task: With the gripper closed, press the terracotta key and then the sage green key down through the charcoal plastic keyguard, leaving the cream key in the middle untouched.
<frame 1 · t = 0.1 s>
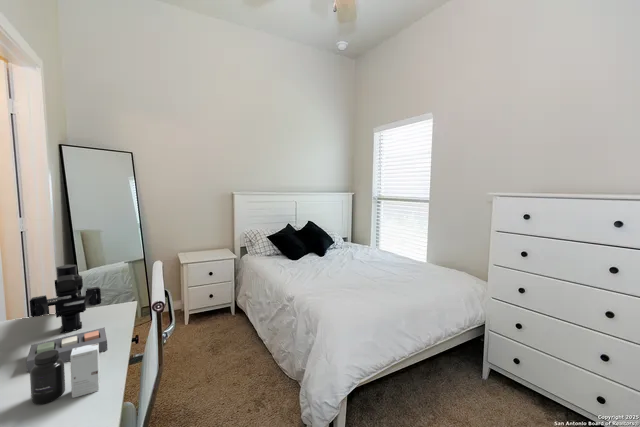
hand: (66, 308, 97), 17 cm above the table, tool horizontal, fingers open, 9 cm apart
sage key: (45, 349, 97), point 3 cm above the table, slide at 0.0 cm
cream key: (69, 343, 101), point 3 cm above the table, slide at 0.0 cm
keyguard: (70, 352, 101), on the table
terracotta key: (91, 337, 105), point 3 cm above the table, slide at 0.0 cm
supplement bottle: (49, 397, 80), on the table
skincare box: (87, 390, 83), on the table
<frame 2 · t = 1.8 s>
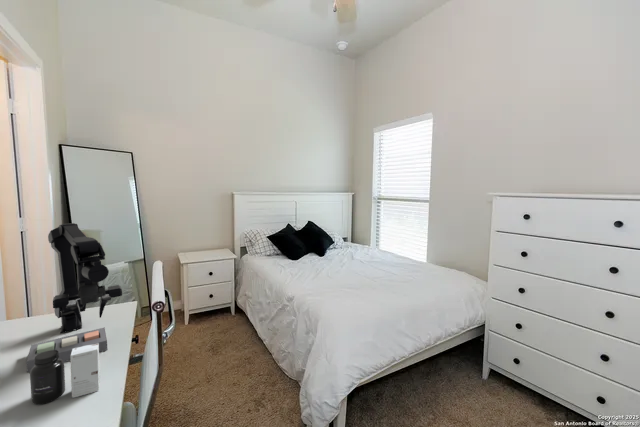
hand: (90, 319, 104), 10 cm above the table, tool pointing down, fingers open, 5 cm apart
nothing on the table moved.
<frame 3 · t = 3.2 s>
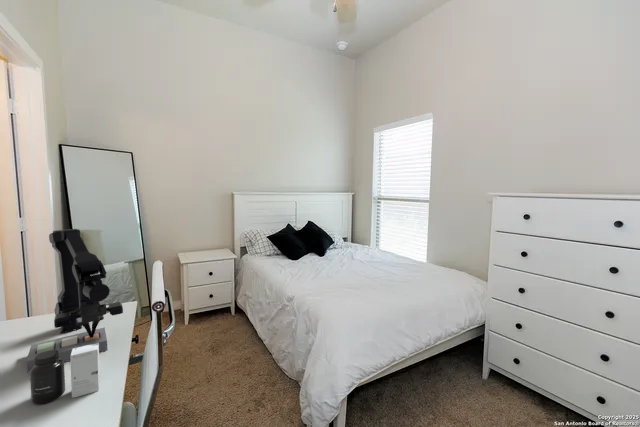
hand: (91, 337, 105), 3 cm above the table, tool pointing down, fingers closed, pressing on terracotta key
terracotta key: (92, 340, 105), point 2 cm above the table, slide at -1.0 cm, touching gripper, keyguard
everything else where it was.
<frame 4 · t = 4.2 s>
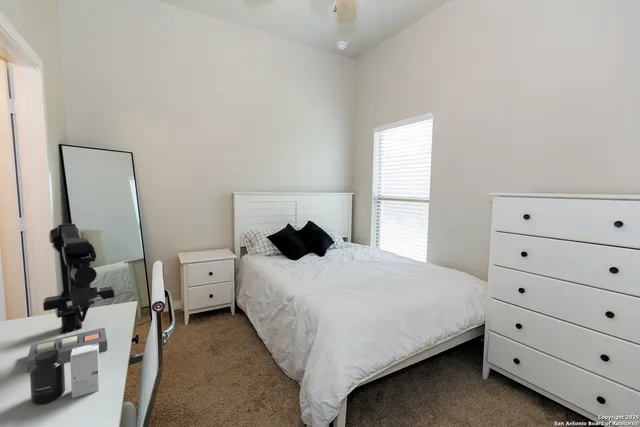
hand: (82, 321, 103), 10 cm above the table, tool pointing down, fingers closed
terracotta key: (92, 340, 105), point 2 cm above the table, slide at -1.0 cm, touching keyguard
everything else where it was.
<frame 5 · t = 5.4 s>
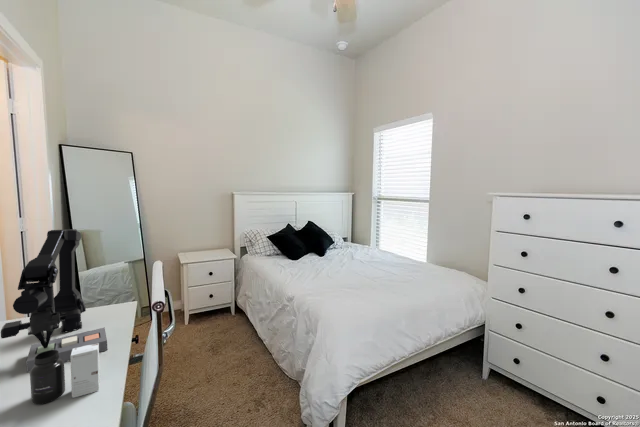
hand: (45, 347, 97), 4 cm above the table, tool pointing down, fingers closed, pressing on sage key
sage key: (46, 351, 97), point 3 cm above the table, slide at -0.7 cm, touching gripper
everything else where it was.
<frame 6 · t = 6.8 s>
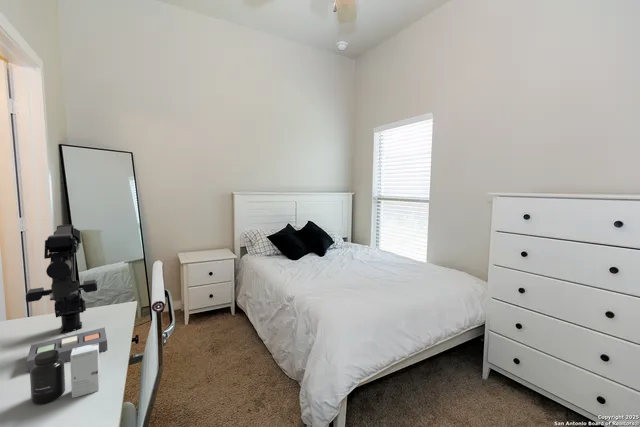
hand: (65, 313, 105), 12 cm above the table, tool pointing down, fingers closed
sage key: (46, 352, 97), point 2 cm above the table, slide at -1.0 cm, touching keyguard
everything else where it was.
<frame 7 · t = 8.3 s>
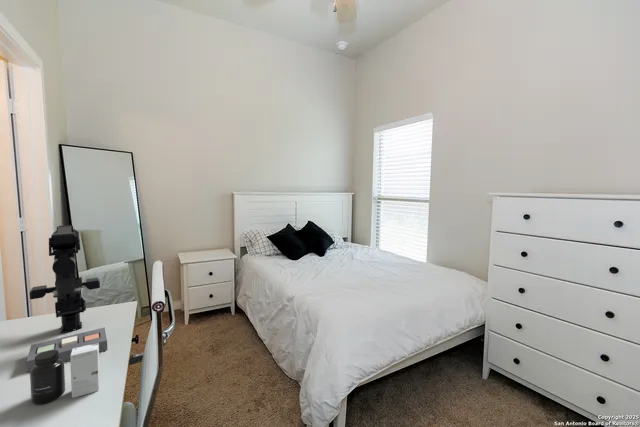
hand: (68, 310, 106), 12 cm above the table, tool pointing down, fingers closed
nothing on the table moved.
at the end: terracotta key slide at -1.0 cm; sage key slide at -1.0 cm; cream key slide at 0.0 cm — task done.
